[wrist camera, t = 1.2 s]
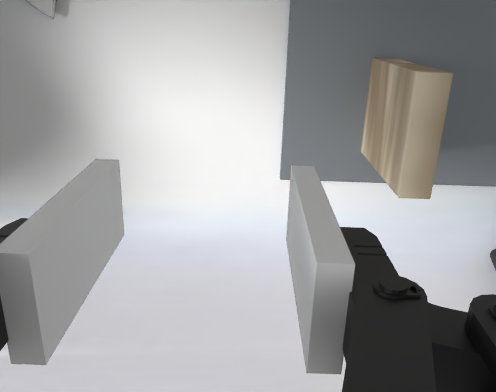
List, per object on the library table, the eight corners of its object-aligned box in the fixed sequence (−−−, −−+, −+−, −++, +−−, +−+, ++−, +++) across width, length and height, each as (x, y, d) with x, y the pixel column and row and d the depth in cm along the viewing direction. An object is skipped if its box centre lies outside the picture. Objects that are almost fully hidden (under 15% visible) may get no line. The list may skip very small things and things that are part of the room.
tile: (360, 151, 36) (398, 197, 26) (372, 57, 33) (418, 72, 24) (385, 152, 36) (432, 198, 26) (399, 58, 33) (456, 73, 24)
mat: (280, 177, 37) (280, 179, 37) (299, -151, 29) (300, -154, 29) (528, 185, 37) (531, 187, 37) (613, -141, 29) (619, -144, 29)
